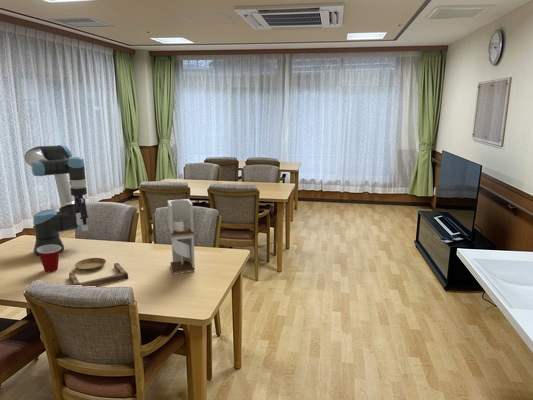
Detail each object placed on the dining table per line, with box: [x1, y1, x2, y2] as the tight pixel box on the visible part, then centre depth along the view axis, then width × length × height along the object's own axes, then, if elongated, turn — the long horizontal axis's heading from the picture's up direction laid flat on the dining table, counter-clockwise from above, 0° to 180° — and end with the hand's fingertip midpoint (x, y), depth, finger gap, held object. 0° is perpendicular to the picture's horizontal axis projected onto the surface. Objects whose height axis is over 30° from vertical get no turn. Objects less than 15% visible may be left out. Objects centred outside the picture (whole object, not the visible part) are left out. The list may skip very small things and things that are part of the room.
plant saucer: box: [74, 257, 107, 273], centre depth 201 cm, size 15×15×3 cm
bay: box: [68, 262, 129, 287], centre depth 188 cm, size 16×23×2 cm
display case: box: [167, 198, 196, 275], centre depth 197 cm, size 11×11×35 cm
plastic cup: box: [36, 245, 61, 273], centre depth 196 cm, size 11×11×12 cm
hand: (82, 227), depth 207 cm, fingers open, 12 cm apart
